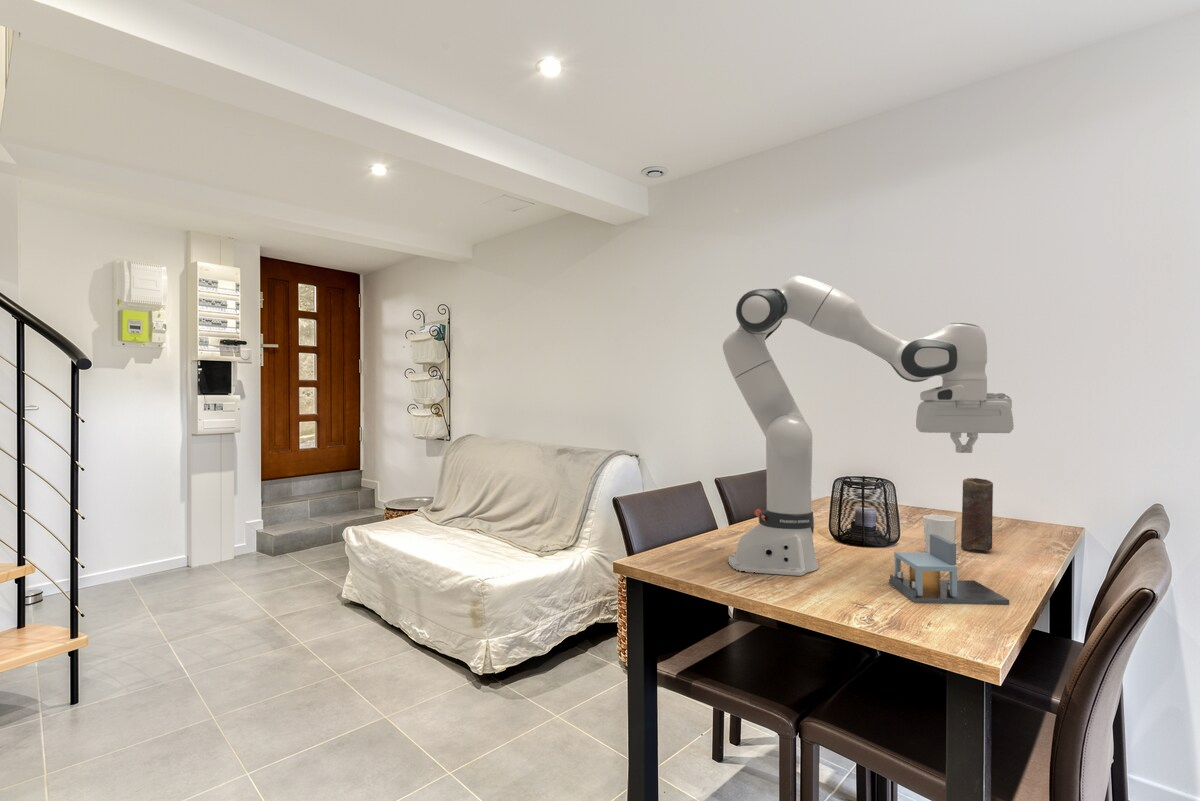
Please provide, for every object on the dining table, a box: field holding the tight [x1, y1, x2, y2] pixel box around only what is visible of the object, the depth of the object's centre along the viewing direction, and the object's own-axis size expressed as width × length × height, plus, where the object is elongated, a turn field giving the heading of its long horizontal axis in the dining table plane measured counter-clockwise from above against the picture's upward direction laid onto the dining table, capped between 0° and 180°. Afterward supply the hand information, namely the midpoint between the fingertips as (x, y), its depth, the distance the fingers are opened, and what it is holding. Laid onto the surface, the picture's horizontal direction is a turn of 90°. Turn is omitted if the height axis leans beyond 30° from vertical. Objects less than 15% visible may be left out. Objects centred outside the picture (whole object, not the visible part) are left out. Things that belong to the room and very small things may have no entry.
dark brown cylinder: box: [960, 477, 994, 553], centre depth 164 cm, size 8×7×20 cm
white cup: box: [922, 514, 957, 552], centre depth 161 cm, size 8×8×10 cm
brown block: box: [908, 565, 941, 592], centre depth 129 cm, size 4×4×4 cm
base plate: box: [888, 570, 1010, 606], centre depth 129 cm, size 19×13×4 cm
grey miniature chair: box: [893, 534, 958, 596], centre depth 129 cm, size 8×12×11 cm
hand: (963, 452), depth 136 cm, fingers closed
